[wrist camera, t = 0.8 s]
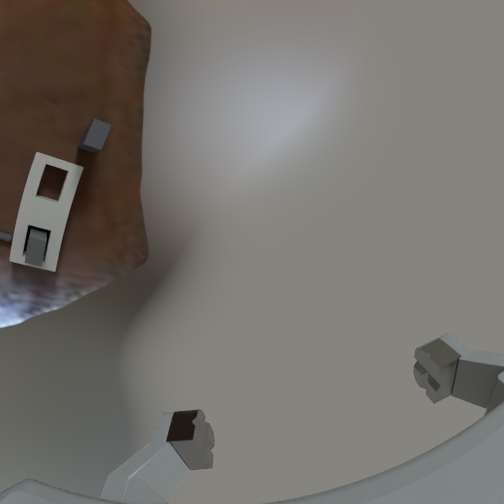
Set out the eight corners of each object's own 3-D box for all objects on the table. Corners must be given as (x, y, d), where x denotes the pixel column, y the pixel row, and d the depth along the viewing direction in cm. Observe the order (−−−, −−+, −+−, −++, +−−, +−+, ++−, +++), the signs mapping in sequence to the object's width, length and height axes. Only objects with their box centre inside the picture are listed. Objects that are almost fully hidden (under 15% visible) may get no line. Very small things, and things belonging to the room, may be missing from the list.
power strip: (-36, 242, 28) (-49, 256, 22) (-11, 137, 27) (-22, 132, 21) (54, 265, 42) (56, 282, 36) (81, 167, 41) (87, 167, 35)
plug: (77, 147, 39) (83, 143, 33) (86, 126, 39) (94, 118, 33) (93, 153, 42) (101, 150, 35) (102, 132, 41) (112, 125, 35)
